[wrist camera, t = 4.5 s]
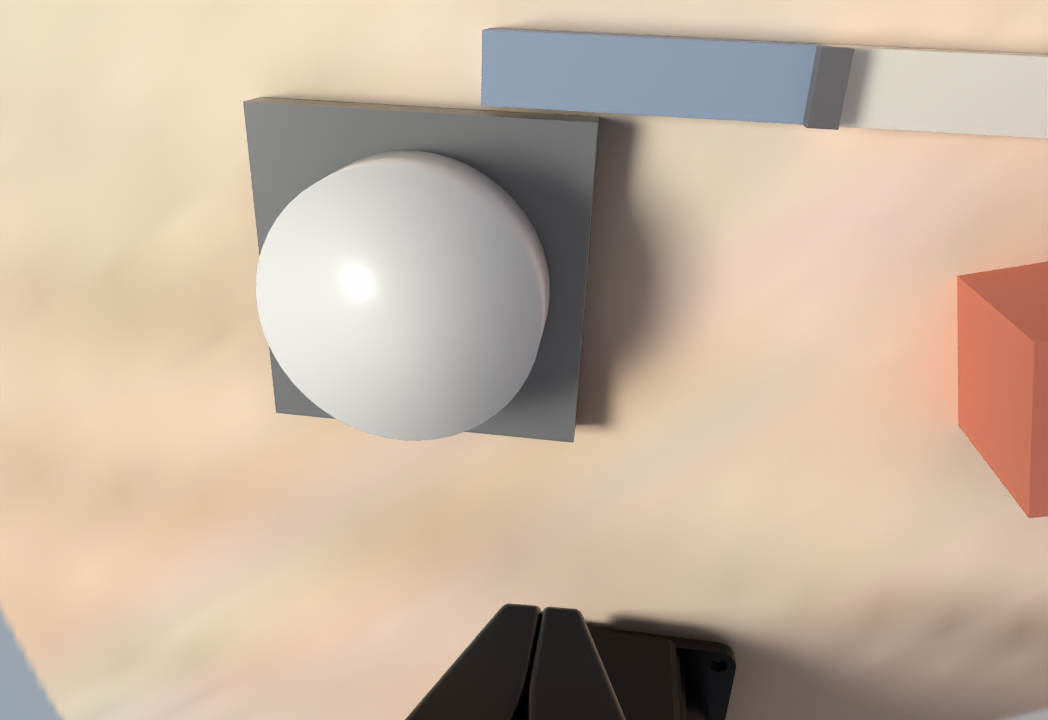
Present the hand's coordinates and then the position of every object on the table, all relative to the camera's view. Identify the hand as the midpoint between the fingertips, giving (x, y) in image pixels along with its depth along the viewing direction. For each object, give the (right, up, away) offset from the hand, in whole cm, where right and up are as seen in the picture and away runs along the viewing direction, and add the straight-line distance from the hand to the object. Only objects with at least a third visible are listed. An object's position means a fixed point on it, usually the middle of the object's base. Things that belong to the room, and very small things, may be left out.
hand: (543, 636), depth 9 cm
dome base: (-3, +5, +11) cm, 13 cm away
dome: (-3, +5, +11) cm, 12 cm away
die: (+12, +3, +10) cm, 16 cm away
